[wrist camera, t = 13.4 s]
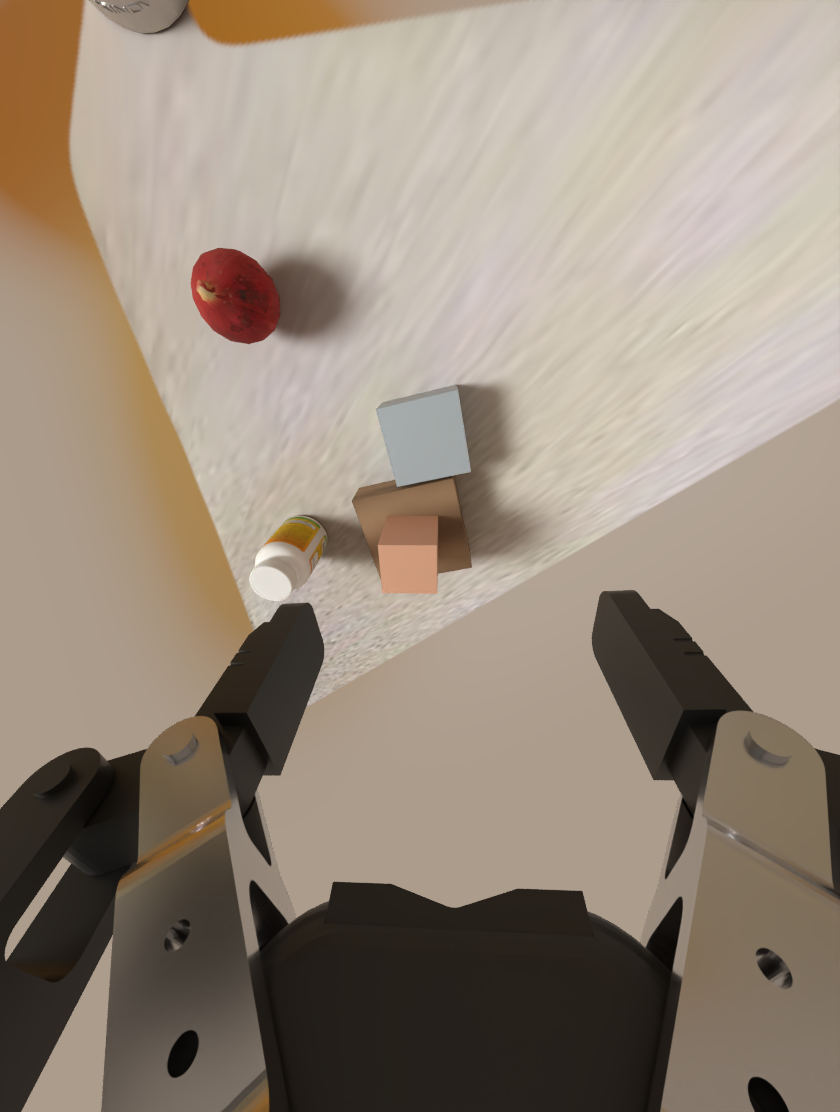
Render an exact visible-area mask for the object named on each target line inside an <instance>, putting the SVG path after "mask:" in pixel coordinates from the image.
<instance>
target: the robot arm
mask: <svg viewBox="0 0 840 1112" xmlns="http://www.w3.org/2000/svg"><path fill="white" fill-rule="evenodd" d="M89 1H90V2H91V3H92V4H93V5H95V6H96V7H97V8H98V9H99V10H100V11H101V12H102V13H103V14H104V15H106V16H107V17H108V18H109V19H110V20H112V21H114V22H115V23H117V24H119V25H120V26H122V27H124V28H126V29H129V30H132V31H136V32H139V33H155V32H158V31H160V30H162V29H165V28H167V27H169V26H170V25H171V24H172V23H173V22H174V21H175V20H176V19H178V18H179V17H180V15H181V14H182V12H183V10H184V9H185V7H186V5H187V3H188V2H189V0H89ZM592 646H593V651H594V655H595V658H596V660H597V662H598V664H599V666H600V668H601V670H602V672H603V675H604V677H605V679H606V681H607V683H608V685H609V687H610V689H611V691H612V694H613V695H614V698H615V700H616V702H617V704H618V706H619V708H620V710H621V712H622V714H623V716H624V719H625V721H626V723H627V725H628V727H629V729H630V731H631V733H632V736H633V738H634V740H635V742H636V744H637V746H638V748H639V750H640V752H641V754H642V756H643V759H644V761H645V763H646V765H647V767H648V769H649V771H650V773H651V775H652V778H653V780H674V781H675V783H676V785H677V787H678V788H679V791H680V792H681V795H680V797H679V799H678V802H677V807H676V811H675V815H674V819H673V824H672V828H671V832H670V836H669V840H668V845H667V849H666V853H665V858H664V862H663V866H662V870H661V875H660V879H659V883H658V886H657V889H656V893H655V896H654V898H653V901H652V903H651V906H650V909H649V912H648V915H647V918H646V921H645V925H644V929H643V932H642V937H641V940H640V943H639V942H638V941H637V940H636V939H634V938H633V937H632V936H631V935H629V934H628V933H626V932H625V931H623V930H622V929H620V928H619V927H617V926H616V925H614V924H613V923H611V922H609V921H607V920H605V919H603V918H602V917H600V916H598V915H596V914H593V913H590V912H588V911H587V908H586V904H585V900H584V896H583V892H582V891H564V890H538V889H515V890H512V891H509V892H506V893H503V894H500V895H497V896H494V897H490V898H487V899H484V900H481V901H478V902H475V903H472V904H469V905H465V906H462V907H459V908H451V907H447V906H445V905H442V904H440V903H437V902H435V901H432V900H430V899H427V898H425V897H422V896H420V895H417V894H415V893H412V892H410V891H407V890H405V889H402V888H400V887H397V886H395V885H392V884H377V883H376V884H375V883H350V882H333V885H332V890H331V895H330V900H329V901H328V902H325V903H323V904H321V905H319V906H317V907H315V908H312V909H310V910H308V911H307V912H305V913H304V914H302V915H301V916H299V917H298V918H296V916H295V912H294V909H293V906H292V903H291V900H290V898H289V895H288V892H287V890H286V888H285V886H284V884H283V881H282V878H281V876H280V873H279V869H278V866H277V862H276V859H275V854H274V851H273V847H272V843H271V839H270V835H269V831H268V827H267V824H266V820H265V816H264V812H263V808H262V804H261V800H260V796H259V794H258V792H257V787H258V785H259V783H260V781H261V778H262V776H263V775H281V771H282V769H283V767H284V764H285V761H286V759H287V756H288V753H289V751H290V748H291V745H292V743H293V740H294V737H295V735H296V732H297V729H298V727H299V724H300V721H301V718H302V716H303V714H304V710H305V708H306V706H307V703H308V700H309V698H310V695H311V692H312V690H313V687H314V684H315V682H316V679H317V676H318V674H319V671H320V668H321V666H322V663H323V659H324V643H323V639H322V636H321V633H320V630H319V627H318V623H317V620H316V617H315V614H314V611H313V608H312V606H311V605H310V604H309V603H292V604H282V605H280V606H279V608H278V609H277V611H276V613H275V614H274V616H273V617H272V619H271V621H270V622H264V623H263V624H261V625H260V626H259V627H258V628H257V629H255V630H254V631H253V632H252V633H251V634H250V635H248V637H247V639H246V640H245V641H244V643H243V645H242V646H241V647H240V649H239V653H237V654H236V655H235V657H234V658H233V660H232V661H231V665H230V666H228V667H227V669H226V670H225V672H224V673H223V675H222V676H221V678H220V679H219V681H218V682H217V684H216V685H215V687H214V688H213V690H212V691H211V693H210V694H209V696H208V697H207V699H206V700H205V702H204V703H203V705H202V707H201V708H200V709H199V711H198V712H197V714H196V715H195V716H194V717H190V718H187V719H184V720H182V721H179V722H177V723H176V724H174V725H172V726H171V727H169V728H167V729H166V730H165V731H164V732H162V733H161V734H160V735H159V736H158V737H157V738H156V739H155V740H154V741H153V742H152V743H151V744H150V746H149V747H148V749H145V750H142V751H139V752H135V753H132V754H128V755H125V756H122V757H119V758H115V759H112V760H109V761H106V759H105V758H104V757H103V756H102V755H101V754H100V753H99V752H98V751H97V750H95V749H93V748H79V749H76V750H72V751H70V752H67V753H65V754H63V755H60V756H58V757H57V758H55V759H53V760H51V761H50V762H48V763H47V764H45V765H44V766H42V767H41V768H40V769H39V770H37V771H36V772H35V773H34V774H33V775H31V776H30V777H29V778H28V779H27V780H26V781H25V782H24V783H23V784H22V785H21V787H20V788H19V789H18V790H17V791H16V792H15V793H14V794H13V796H12V797H11V798H10V799H9V800H8V801H7V802H6V803H5V804H4V805H3V807H2V808H1V809H0V1112H21V1111H22V1109H23V1107H24V1105H25V1103H26V1101H27V1099H28V1097H29V1095H30V1093H31V1091H32V1090H33V1087H34V1086H35V1084H36V1082H37V1080H38V1078H39V1076H40V1074H41V1072H42V1070H43V1068H44V1066H45V1064H46V1063H47V1060H48V1059H49V1056H50V1055H51V1053H52V1051H53V1049H54V1047H55V1045H56V1043H57V1041H58V1039H59V1037H60V1035H61V1034H62V1031H63V1030H64V1028H65V1026H66V1024H67V1022H68V1020H69V1018H70V1016H71V1014H72V1012H73V1010H74V1008H75V1006H76V1004H77V1003H78V1001H79V999H80V997H81V995H82V993H83V991H84V989H85V987H86V985H87V983H88V981H89V979H90V977H91V975H92V974H93V971H94V970H95V968H96V966H97V964H98V962H99V960H100V958H101V956H102V954H103V952H104V950H105V948H106V946H107V945H108V943H109V941H110V939H111V937H112V935H113V942H112V957H111V972H110V987H109V1002H108V1019H107V1035H106V1048H105V1049H106V1050H105V1063H104V1079H103V1094H102V1109H101V1112H840V755H837V754H833V753H829V752H825V751H821V750H818V749H815V748H813V746H812V745H811V744H810V743H809V742H808V741H807V740H806V739H804V738H803V737H802V736H801V735H800V734H798V733H797V732H796V731H794V730H793V729H791V728H789V727H788V726H787V725H785V724H783V723H781V722H779V721H777V720H775V719H773V718H770V717H768V716H765V715H762V714H758V713H754V712H753V711H752V710H751V709H750V708H749V706H748V705H747V704H746V703H745V701H744V700H743V699H742V698H741V696H740V695H739V694H738V693H737V692H736V690H735V689H734V688H733V687H732V686H731V684H730V683H729V682H728V681H727V680H726V678H725V677H724V676H723V675H722V674H721V672H720V671H719V670H718V669H717V668H716V666H715V665H714V664H713V663H712V662H711V660H710V659H709V658H708V657H707V656H704V654H703V651H702V649H701V648H700V647H699V646H698V645H697V643H696V642H693V641H692V637H691V636H690V635H689V634H688V633H687V632H686V631H685V629H684V628H683V627H682V625H681V624H680V623H679V622H678V621H676V620H675V619H673V618H672V617H670V616H669V615H667V614H666V613H664V612H663V611H661V610H660V609H650V608H649V607H648V605H647V604H646V603H645V602H644V600H643V599H642V598H641V596H640V595H639V594H638V593H637V592H636V591H634V590H624V591H604V592H602V593H601V595H600V597H599V602H598V607H597V612H596V617H595V622H594V627H593V633H592ZM62 857H63V858H65V859H66V860H68V861H69V862H70V863H71V865H70V867H69V868H68V869H67V871H66V872H65V874H64V876H63V877H62V879H61V880H60V881H59V883H58V884H57V886H56V888H55V889H54V891H53V892H52V893H51V895H50V897H49V898H48V899H47V901H46V903H45V904H44V906H43V907H42V909H41V910H40V912H39V913H38V914H37V916H36V917H35V919H34V920H33V922H32V923H31V925H30V926H29V928H28V929H27V931H26V932H25V934H24V936H23V937H22V938H21V940H20V942H19V943H18V944H17V946H16V947H15V949H14V950H13V952H12V953H11V955H10V956H9V958H8V959H7V961H5V956H4V954H5V947H6V944H7V941H8V938H9V936H10V934H11V932H12V930H13V928H14V927H15V925H16V924H17V922H18V921H19V919H20V918H21V916H22V915H23V913H24V912H25V911H26V909H27V908H28V906H29V905H30V903H31V902H32V900H33V899H34V897H35V896H36V895H37V893H38V892H39V890H40V889H41V887H42V886H43V885H44V883H45V881H46V880H47V878H48V877H49V876H50V874H51V873H52V872H53V870H54V869H55V867H56V866H57V864H58V863H59V861H60V860H61V859H62Z"/></svg>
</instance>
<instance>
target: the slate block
mask: <svg viewBox="0 0 840 1112" xmlns="http://www.w3.org/2000/svg"><path fill="white" fill-rule="evenodd" d="M376 412H377V415H378V419H379V423H380V426H381V430H382V434H383V437H384V441H385V445H386V448H387V452H388V456H389V459H390V463H391V467H392V470H393V474H394V478H395V481H396V485H397V487H399V486H404V485H409V484H414V483H419V482H424V481H429V480H434V479H439V478H444V477H448V476H453V475H458V474H463V473H468V472H471V468H470V462H469V455H468V449H467V443H466V437H465V430H464V424H463V418H462V412H461V406H460V399H459V393H458V388H457V385H453V386H449V387H445V388H441V389H437V390H432V391H428V392H424V393H420V394H416V395H412V396H408V397H404V398H400V399H395V400H391V401H387V402H383V403H382V404H381V405H380V406H379V407H378V408H377V409H376Z"/></svg>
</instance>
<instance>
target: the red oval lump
mask: <svg viewBox="0 0 840 1112" xmlns="http://www.w3.org/2000/svg"><path fill="white" fill-rule="evenodd" d="M191 288H192V295H193V300H194V302H195V304H196V306H197V308H198V310H199V312H200V314H201V316H202V318H203V319H204V320H205V321H206V322H207V323H208V325H209V326H210V327H211V328H212V329H213V330H214V331H215V332H217V333H218V334H220V335H222V336H223V337H225V338H227V339H229V340H230V341H234V342H240V343H246V344H250V343H255V342H259V341H262V340H264V339H265V338H266V337H268V336H269V335H270V334H271V333H272V332H273V331H274V330H275V327H276V325H277V322H278V320H279V317H280V300H279V295H278V293H277V290H276V288H275V285H274V283H273V280H272V278H271V277H270V276H269V275H268V274H267V273H266V272H265V270H264V269H263V268H262V267H261V266H260V265H259V264H258V262H257V261H256V260H254V259H252V258H251V257H249V256H247V255H246V254H244V253H242V252H241V251H238V250H235V249H224V248H217V249H214V250H211V251H208V252H205V253H203V254H201V256H200V257H199V259H198V260H197V262H196V264H195V265H194V267H193V272H192V278H191Z"/></svg>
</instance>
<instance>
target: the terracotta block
mask: <svg viewBox="0 0 840 1112" xmlns="http://www.w3.org/2000/svg"><path fill="white" fill-rule="evenodd" d="M378 553H379V563H380V573H381V583H382V593H435V594H437V576H438V516H387V518H386V521H385V525H384V528H383V531H382V534H381V537H380V540H379V543H378Z"/></svg>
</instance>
